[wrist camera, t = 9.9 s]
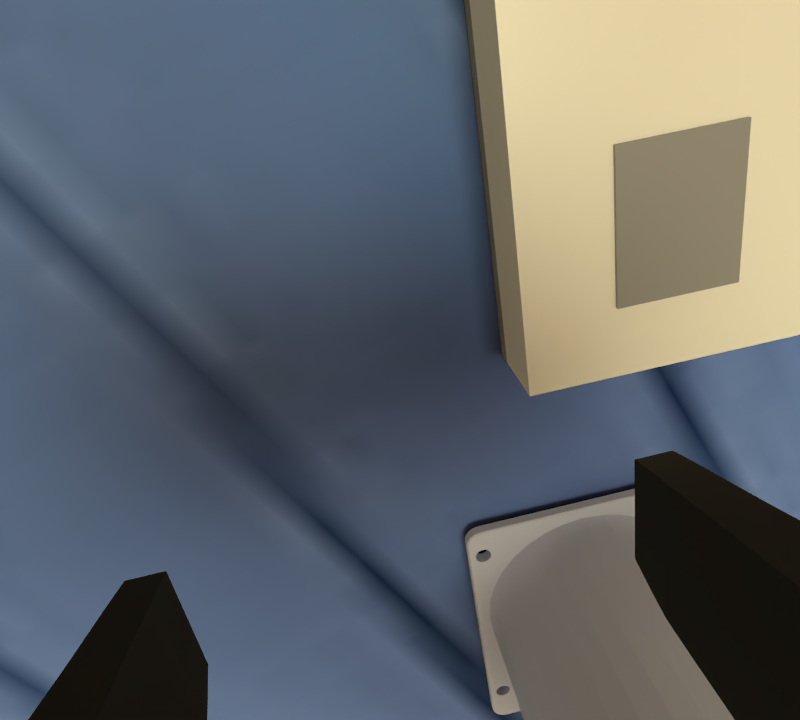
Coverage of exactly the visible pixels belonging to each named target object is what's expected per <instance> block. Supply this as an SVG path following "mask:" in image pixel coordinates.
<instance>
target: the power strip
mask: <svg viewBox="0 0 800 720" xmlns="http://www.w3.org/2000/svg"><path fill="white" fill-rule="evenodd" d="M464 5H465V15H466V24H467V33H468V43H469V52H470V61H471V71H472V80H473V89H474V99H475V108H476V117H477V127H478V136H479V145H480V155H481V164H482V173H483V182H484V192H485V201H486V210H487V220H488V229H489V238H490V248H491V257H492V266H493V276H494V285H495V294H496V304H497V313H498V322H499V332H500V341H501V350H502V356H503V357H504V359H505V360H506V362H507V363H508V365H509V366H510V368H511V369H512V371H513V372H514V374H515V375H516V377H517V378H518V380H519V381H520V383H521V384H522V386H523V387H524V389H525V390H526V392H527V393H528V395H529V396H534V395H538V394H543V393H547V392H551V391H556V390H560V389H564V388H569V387H573V386H578V385H582V384H586V383H591V382H595V381H599V380H604V379H608V378H612V377H617V376H621V375H626V374H630V373H634V372H639V371H643V370H647V369H652V368H656V367H660V366H665V365H669V364H674V363H678V362H682V361H687V360H691V359H695V358H700V357H704V356H708V355H713V354H717V353H722V352H726V351H730V350H735V349H739V348H743V347H748V346H752V345H756V344H761V343H765V342H770V341H774V340H778V339H783V338H787V337H791V336H796V335H800V0H464Z"/></svg>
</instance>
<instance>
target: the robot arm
mask: <svg viewBox="0 0 800 720" xmlns="http://www.w3.org/2000/svg"><path fill="white" fill-rule="evenodd" d="M465 545H466V552H467V558H468V564H469V570H470V577H471V583H472V589H473V595H474V602H475V608H476V614H477V620H478V627H479V633H480V639H481V645H482V652H483V658H484V664H485V670H486V676H487V683H488V689H489V695H490V701H491V705H492V708H493V711H494V712H495V713H497V714H500V715H506V714H510V713H514V712H518V711H521V714H522V717H523V720H800V520H798V519H796V518H794V517H792V516H790V515H789V514H787V513H785V512H783V511H781V510H779V509H777V508H776V507H774V506H772V505H770V504H768V503H766V502H765V501H763V500H761V499H759V498H757V497H755V496H754V495H752V494H750V493H748V492H747V491H745V490H743V489H741V488H739V487H738V486H736V485H734V484H732V483H730V482H729V481H727V480H725V479H723V478H721V477H720V476H718V475H716V474H714V473H713V472H711V471H709V470H707V469H705V468H704V467H702V466H700V465H698V464H696V463H695V462H693V461H691V460H689V459H687V458H686V457H684V456H682V455H680V454H678V453H676V452H674V451H669V452H665V453H661V454H657V455H652V456H648V457H644V458H640V459H636V460H635V489H631V490H627V491H623V492H618V493H614V494H610V495H606V496H602V497H598V498H594V499H589V500H585V501H581V502H577V503H573V504H569V505H564V506H560V507H556V508H552V509H548V510H544V511H540V512H535V513H531V514H527V515H523V516H519V517H515V518H510V519H506V520H502V521H498V522H494V523H490V524H485V525H481V526H477V527H475V528H472V529H471V530H470V531H469V532H468V533H467V534H466V536H465ZM482 550H486V551H485V552H484V553H482V554H477V553H478V552H479V551H482ZM207 703H208V663H207V661H206V659H205V657H204V654H203V652H202V650H201V648H200V646H199V643H198V641H197V639H196V637H195V634H194V632H193V630H192V628H191V626H190V623H189V621H188V619H187V617H186V614H185V612H184V610H183V608H182V606H181V603H180V601H179V599H178V597H177V594H176V592H175V590H174V588H173V586H172V583H171V581H170V579H169V577H168V574H167V572H166V571H165V572H160V573H156V574H152V575H148V576H144V577H139V578H135V579H131V580H127V581H124V583H123V584H122V585H121V587H120V588H119V590H118V591H117V592H116V594H115V595H114V597H113V598H112V600H111V601H110V603H109V604H108V605H107V607H106V608H105V610H104V611H103V613H102V614H101V616H100V617H99V619H98V620H97V622H96V623H95V624H94V626H93V627H92V629H91V630H90V632H89V633H88V635H87V636H86V638H85V639H84V641H83V642H82V644H81V645H80V647H79V648H78V649H77V651H76V652H75V654H74V655H73V657H72V658H71V660H70V661H69V663H68V664H67V666H66V667H65V668H64V670H63V671H62V673H61V674H60V676H59V677H58V678H57V680H56V681H55V683H54V684H53V686H52V687H51V688H50V690H49V691H48V693H47V694H46V695H45V697H44V698H43V700H42V701H41V702H40V704H39V705H38V707H37V708H36V710H35V711H34V712H33V714H32V715H31V717H30V718H29V719H28V720H207Z"/></svg>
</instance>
